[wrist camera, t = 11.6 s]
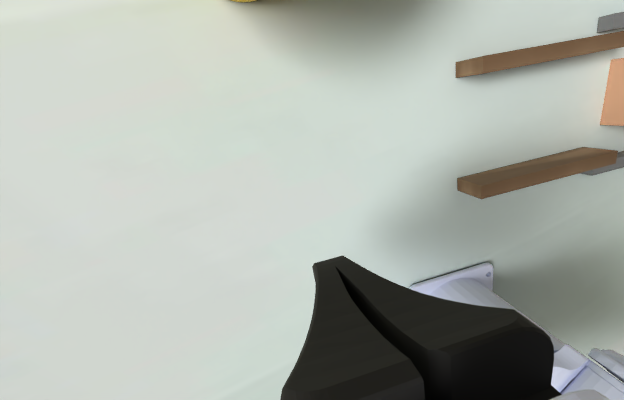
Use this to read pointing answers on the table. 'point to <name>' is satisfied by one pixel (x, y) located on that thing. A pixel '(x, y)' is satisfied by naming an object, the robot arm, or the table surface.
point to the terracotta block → (614, 95)
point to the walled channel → (548, 165)
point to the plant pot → (243, 0)
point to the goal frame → (603, 25)
